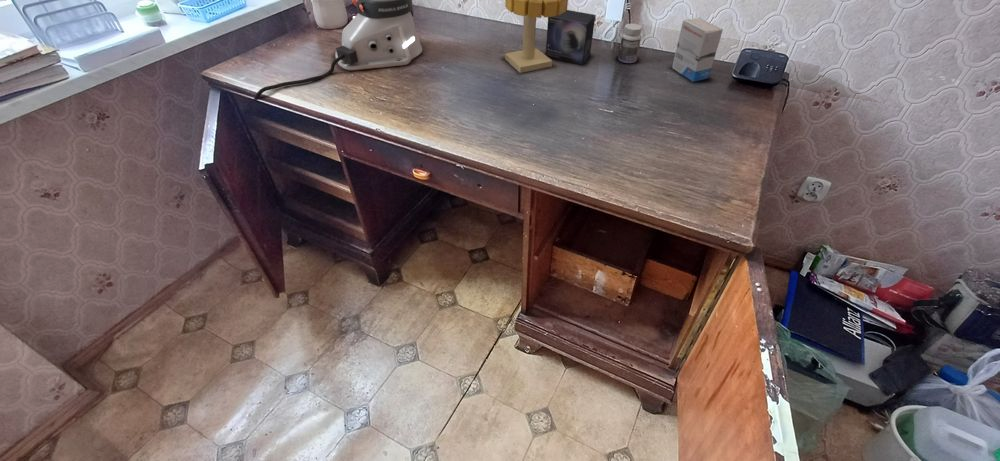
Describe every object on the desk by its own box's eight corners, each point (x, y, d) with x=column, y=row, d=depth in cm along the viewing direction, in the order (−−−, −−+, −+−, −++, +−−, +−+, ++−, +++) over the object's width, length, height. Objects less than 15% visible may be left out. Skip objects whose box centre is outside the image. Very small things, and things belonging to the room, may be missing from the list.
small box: (543, 57, 121) (546, 15, 114) (553, 48, 125) (556, 7, 118) (582, 65, 118) (587, 22, 110) (591, 55, 122) (596, 14, 114)
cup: (325, 32, 134) (316, -4, 127) (310, 23, 140) (300, -12, 133) (355, 24, 139) (347, -12, 132) (338, 15, 144) (330, -19, 137)
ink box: (709, 79, 112) (725, 29, 104) (691, 82, 110) (706, 32, 102) (686, 64, 118) (700, 16, 109) (669, 68, 116) (682, 19, 108)
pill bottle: (621, 54, 122) (627, 21, 117) (639, 58, 121) (645, 24, 115) (615, 61, 119) (620, 27, 114) (632, 65, 118) (639, 31, 112)
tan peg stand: (520, 73, 115) (521, 6, 104) (504, 59, 120) (505, -6, 110) (552, 66, 117) (557, 1, 107) (535, 53, 123) (538, -11, 112)
